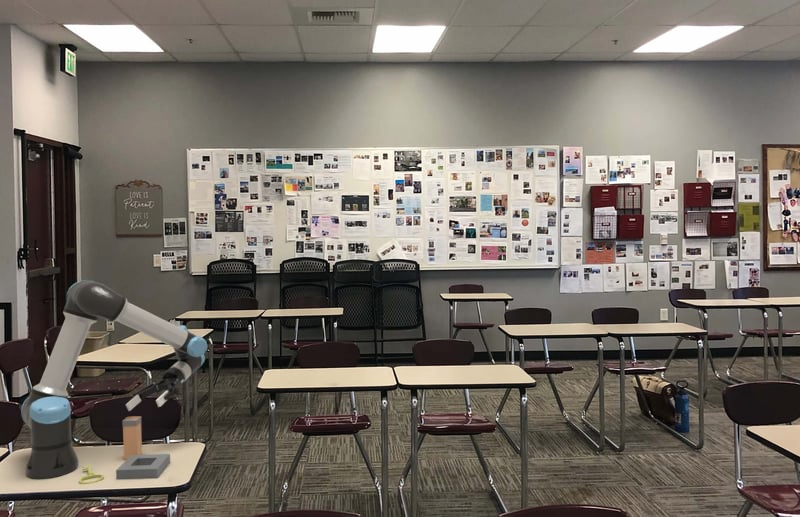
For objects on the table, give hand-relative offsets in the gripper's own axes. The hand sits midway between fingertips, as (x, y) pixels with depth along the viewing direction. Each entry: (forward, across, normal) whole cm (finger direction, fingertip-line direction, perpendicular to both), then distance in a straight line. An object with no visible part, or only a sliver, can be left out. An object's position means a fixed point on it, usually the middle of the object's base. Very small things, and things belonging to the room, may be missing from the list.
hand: (142, 405), depth 219 cm
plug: (+10, +3, -14) cm, 18 cm away
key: (+27, +4, -9) cm, 29 cm away
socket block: (+19, -9, -14) cm, 25 cm away
